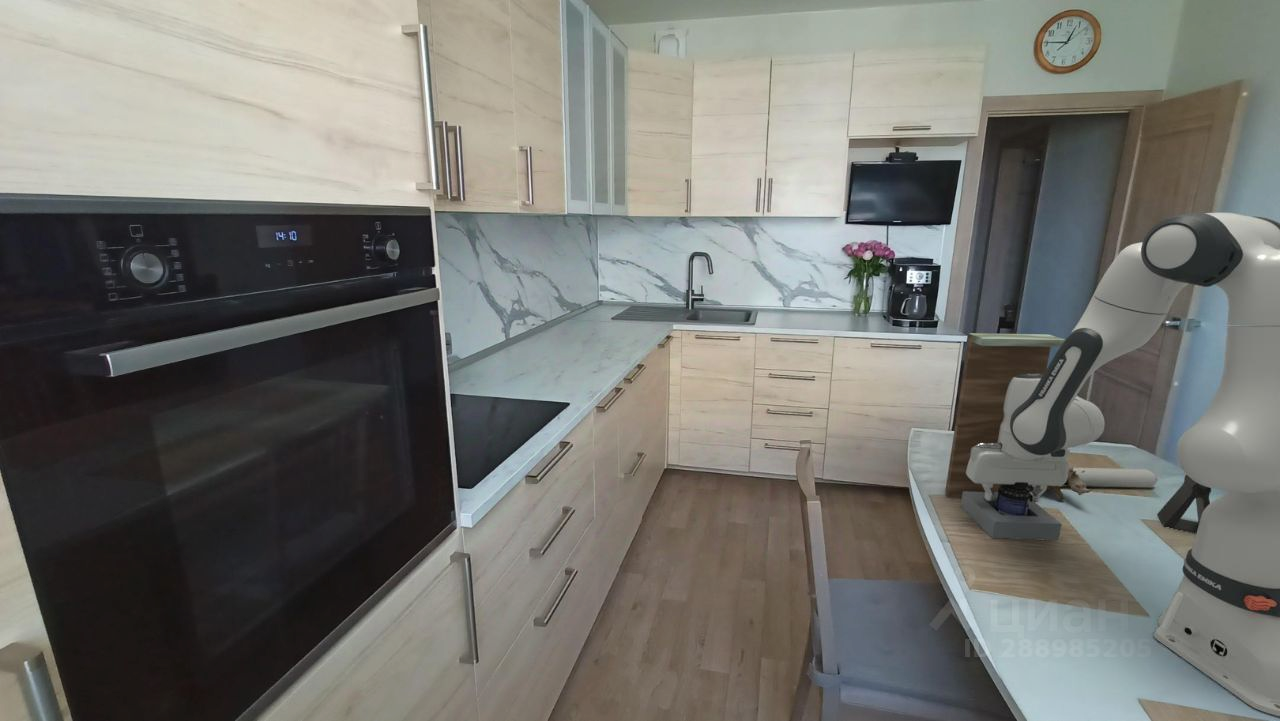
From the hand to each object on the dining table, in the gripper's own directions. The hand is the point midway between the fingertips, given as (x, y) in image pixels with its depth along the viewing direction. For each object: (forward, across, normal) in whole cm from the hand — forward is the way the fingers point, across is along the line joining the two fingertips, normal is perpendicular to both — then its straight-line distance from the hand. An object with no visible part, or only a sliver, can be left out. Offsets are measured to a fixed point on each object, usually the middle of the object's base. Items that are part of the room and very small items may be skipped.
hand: (1010, 500), depth 128 cm
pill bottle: (+6, 0, 0) cm, 6 cm away
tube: (+6, +36, +21) cm, 42 cm away
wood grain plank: (+6, +1, +10) cm, 12 cm away
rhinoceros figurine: (+6, +18, +14) cm, 23 cm away
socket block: (+6, 0, 0) cm, 6 cm away
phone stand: (+6, +40, +1) cm, 40 cm away
